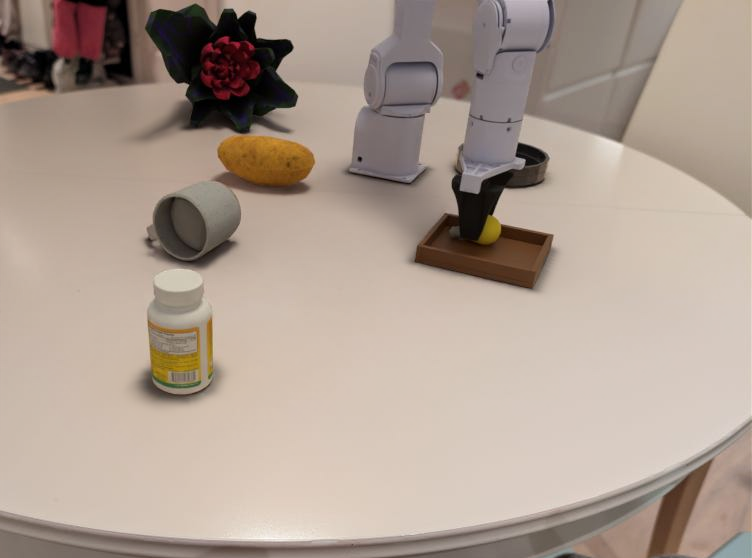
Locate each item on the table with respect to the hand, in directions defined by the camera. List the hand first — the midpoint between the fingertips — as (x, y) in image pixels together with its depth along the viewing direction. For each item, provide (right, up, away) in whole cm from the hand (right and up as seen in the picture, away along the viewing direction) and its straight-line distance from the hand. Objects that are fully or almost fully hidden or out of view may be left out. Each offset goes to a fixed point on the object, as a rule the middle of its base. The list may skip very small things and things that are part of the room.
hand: (473, 232), depth 88 cm
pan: (+10, +13, +23) cm, 28 cm away
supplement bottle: (-32, -17, -23) cm, 43 cm away
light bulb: (0, -1, +1) cm, 1 cm away
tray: (+1, -3, -1) cm, 3 cm away
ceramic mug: (-34, -2, -1) cm, 34 cm away
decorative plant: (-31, +26, +41) cm, 58 cm away
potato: (-25, +10, +17) cm, 32 cm away
